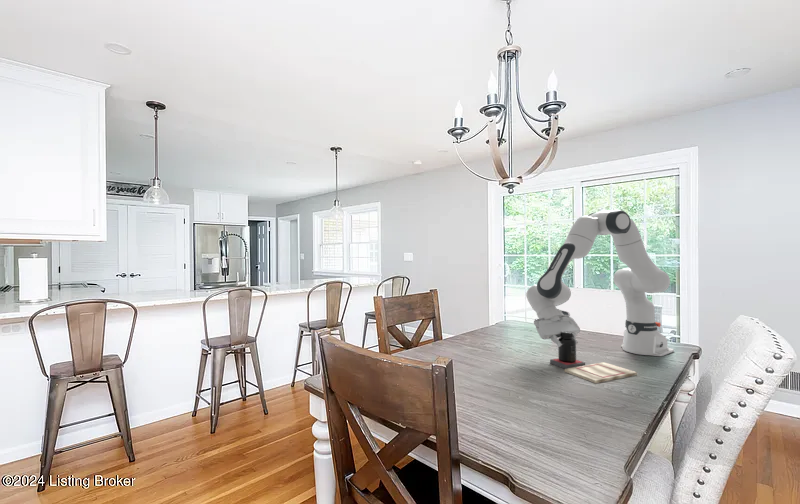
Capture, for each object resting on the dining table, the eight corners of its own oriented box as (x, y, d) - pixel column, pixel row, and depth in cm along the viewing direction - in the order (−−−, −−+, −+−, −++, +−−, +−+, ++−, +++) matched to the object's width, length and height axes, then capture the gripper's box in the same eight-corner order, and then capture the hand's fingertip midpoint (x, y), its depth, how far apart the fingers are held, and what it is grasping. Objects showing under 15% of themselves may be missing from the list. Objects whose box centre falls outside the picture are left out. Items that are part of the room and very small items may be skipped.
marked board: (604, 364, 154) (604, 361, 154) (636, 374, 141) (636, 371, 141) (564, 371, 145) (564, 368, 145) (595, 383, 132) (595, 380, 132)
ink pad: (567, 360, 160) (567, 356, 160) (585, 366, 152) (585, 362, 152) (550, 363, 156) (550, 359, 156) (567, 369, 148) (567, 365, 148)
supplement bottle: (572, 358, 157) (572, 330, 157) (578, 363, 150) (578, 333, 150) (556, 358, 158) (555, 330, 158) (561, 362, 151) (561, 333, 151)
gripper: (535, 315, 156) (553, 343, 147) (571, 311, 164) (590, 338, 155) (528, 323, 160) (545, 351, 151) (563, 320, 168) (581, 346, 159)
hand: (568, 345), depth 153 cm, fingers closed on supplement bottle, 7 cm apart
